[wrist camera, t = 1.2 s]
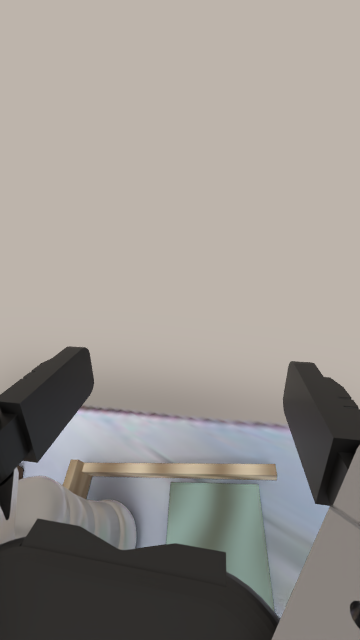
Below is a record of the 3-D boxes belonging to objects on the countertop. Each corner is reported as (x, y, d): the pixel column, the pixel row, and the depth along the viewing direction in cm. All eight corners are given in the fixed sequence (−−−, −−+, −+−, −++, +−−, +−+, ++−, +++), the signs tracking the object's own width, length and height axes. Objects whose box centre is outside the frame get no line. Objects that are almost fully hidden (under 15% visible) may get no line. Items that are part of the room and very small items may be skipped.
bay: (274, 469, 28) (275, 460, 25) (311, 686, 18) (319, 710, 15) (87, 467, 33) (71, 459, 30) (42, 632, 24) (11, 642, 21)
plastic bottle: (85, 592, 25) (-153, 643, 11) (90, 510, 30) (-71, 472, 16) (145, 576, 25) (-23, 608, 11) (140, 496, 29) (21, 444, 15)
